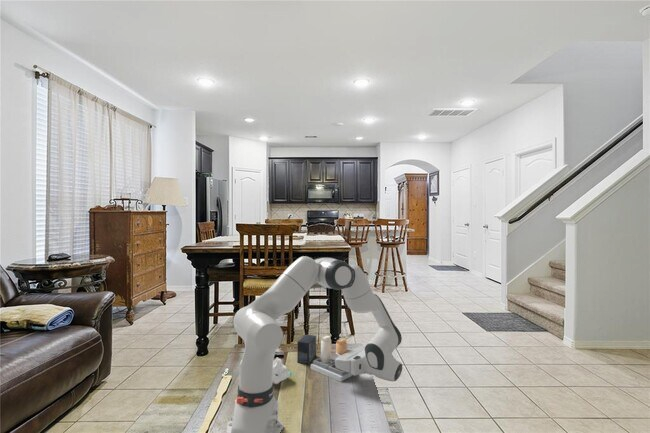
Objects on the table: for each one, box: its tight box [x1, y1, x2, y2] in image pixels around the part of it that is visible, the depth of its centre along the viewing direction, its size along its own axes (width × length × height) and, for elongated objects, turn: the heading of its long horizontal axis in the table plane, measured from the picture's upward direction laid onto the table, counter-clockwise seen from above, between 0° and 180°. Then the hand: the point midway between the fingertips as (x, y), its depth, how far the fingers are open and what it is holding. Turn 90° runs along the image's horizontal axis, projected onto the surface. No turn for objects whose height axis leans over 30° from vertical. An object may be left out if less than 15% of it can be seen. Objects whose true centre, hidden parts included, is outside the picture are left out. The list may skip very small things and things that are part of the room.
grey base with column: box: [310, 334, 353, 382], centre depth 161 cm, size 18×11×14 cm, turn 48°
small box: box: [296, 334, 317, 365], centre depth 174 cm, size 11×6×10 cm, turn 162°
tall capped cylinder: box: [335, 337, 348, 370], centre depth 158 cm, size 5×5×12 cm
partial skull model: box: [273, 357, 293, 385], centre depth 152 cm, size 12×9×10 cm
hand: (339, 352), depth 159 cm, fingers closed on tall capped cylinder, 5 cm apart
